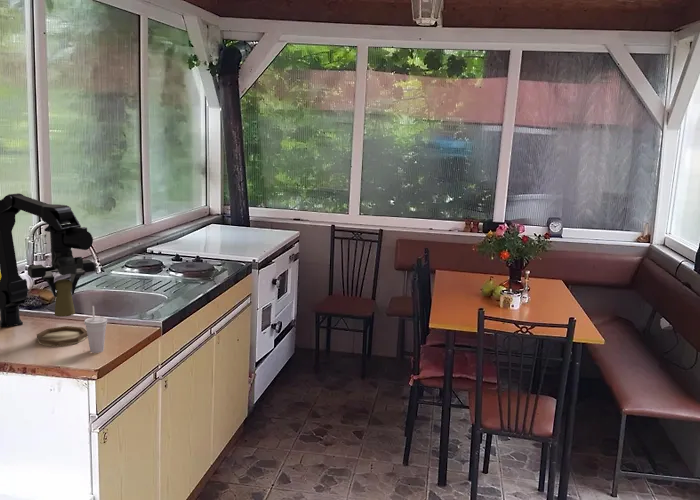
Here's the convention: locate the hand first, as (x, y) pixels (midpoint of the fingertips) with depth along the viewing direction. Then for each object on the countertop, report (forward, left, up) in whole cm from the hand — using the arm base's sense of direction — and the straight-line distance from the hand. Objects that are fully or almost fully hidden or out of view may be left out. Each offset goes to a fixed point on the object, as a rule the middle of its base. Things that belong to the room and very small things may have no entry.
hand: (63, 295), depth 201 cm
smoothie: (+18, +5, -13) cm, 23 cm away
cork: (0, 0, -6) cm, 6 cm away
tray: (+2, -1, -13) cm, 13 cm away
